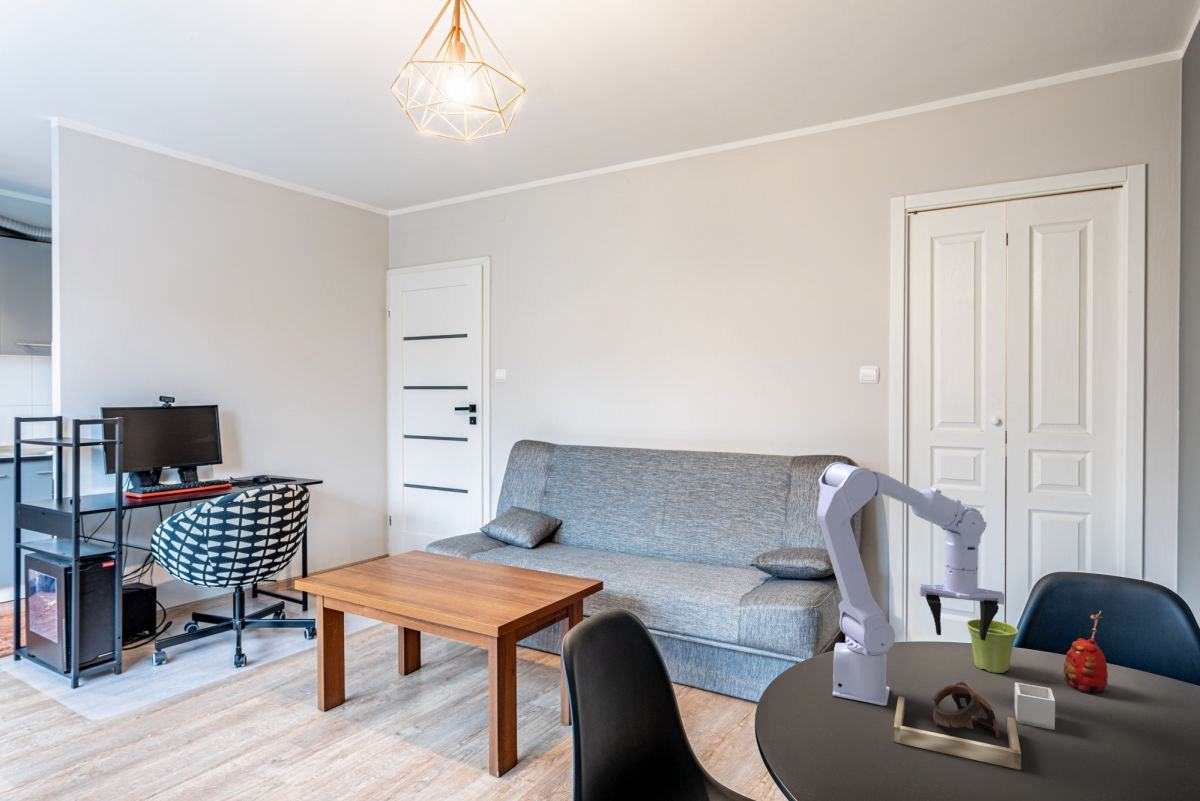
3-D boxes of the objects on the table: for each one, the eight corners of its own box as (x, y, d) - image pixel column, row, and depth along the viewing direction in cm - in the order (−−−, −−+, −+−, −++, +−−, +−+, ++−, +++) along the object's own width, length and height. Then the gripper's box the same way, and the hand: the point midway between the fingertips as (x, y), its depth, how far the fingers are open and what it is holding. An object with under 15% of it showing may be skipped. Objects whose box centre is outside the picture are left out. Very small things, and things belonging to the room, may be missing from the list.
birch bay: (893, 741, 113) (893, 726, 113) (898, 709, 124) (898, 696, 124) (1020, 769, 105) (1021, 753, 105) (1014, 732, 116) (1014, 718, 116)
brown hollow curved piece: (1010, 751, 111) (987, 709, 110) (951, 763, 115) (928, 723, 114) (993, 700, 122) (972, 662, 121) (940, 713, 126) (919, 677, 125)
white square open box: (1017, 722, 119) (1017, 694, 119) (1014, 709, 124) (1014, 682, 124) (1054, 730, 117) (1055, 701, 117) (1050, 716, 122) (1050, 688, 122)
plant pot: (958, 657, 148) (959, 617, 148) (1005, 659, 147) (1005, 619, 146) (976, 675, 139) (976, 633, 138) (1026, 678, 137) (1027, 635, 137)
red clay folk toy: (1055, 677, 138) (1057, 603, 137) (1092, 679, 137) (1094, 604, 137) (1078, 695, 130) (1080, 616, 130) (1118, 696, 129) (1119, 618, 129)
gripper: (922, 568, 132) (921, 638, 132) (1008, 575, 127) (1007, 648, 127) (918, 559, 139) (917, 626, 139) (1000, 566, 133) (999, 635, 134)
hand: (960, 635), depth 133 cm, fingers open, 7 cm apart
